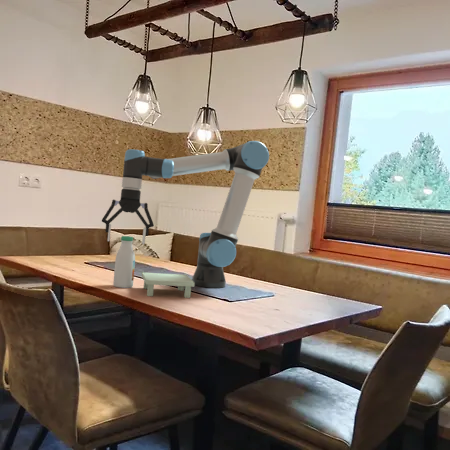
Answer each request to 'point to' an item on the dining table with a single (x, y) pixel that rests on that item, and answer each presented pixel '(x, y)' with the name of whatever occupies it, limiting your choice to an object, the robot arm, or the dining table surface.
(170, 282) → the footstool
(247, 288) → the dining table surface
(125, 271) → the milk bottle
